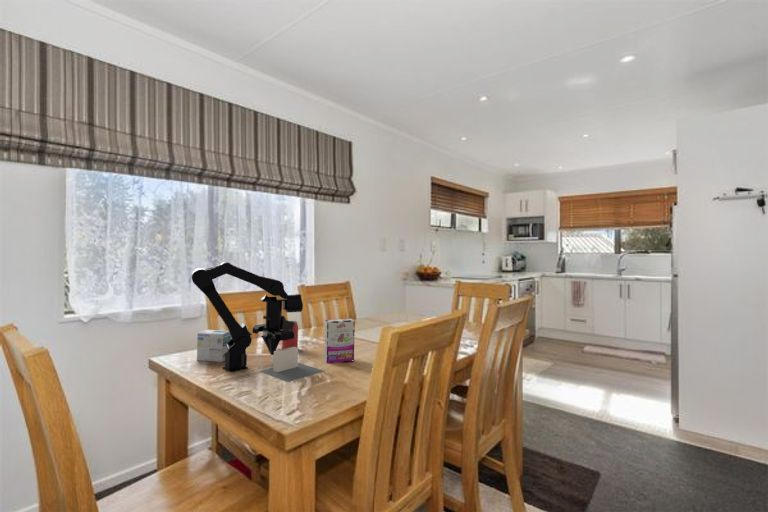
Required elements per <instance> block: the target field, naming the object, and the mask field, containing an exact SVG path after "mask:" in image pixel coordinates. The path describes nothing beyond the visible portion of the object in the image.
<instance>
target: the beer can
mask: <svg viewBox="0 0 768 512" xmlns="http://www.w3.org/2000/svg"><path fill="white" fill-rule="evenodd" d="M290 321H291V322H294V323H295V324H294V327H293V330H292V331H294V332H295V338H294V339H288V340H283V341H281V350H282V349H286V348H291V347H297V348H298V349H299V347H298V346H299V345H298V343H299V342H298V341H299V325H298V322H297V321H296V320H290ZM285 330H286V329H285ZM288 330H290V329H288Z"/></svg>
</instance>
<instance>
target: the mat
mask: <svg viewBox="0 0 768 512" xmlns="http://www.w3.org/2000/svg"><path fill="white" fill-rule="evenodd" d="M259 372H260V373H263V374H265V375H268V376H270V377H273V378H276V379H279V380H280V381H284V382H286V383H290V382H294V381H297V380H299V379H303V378H306V377H310V376H313V375H314V376H315V375H316V374H319V373H323V372H325V370H322V369H319V368H316V367H312V366H310V365H308V364H304V363H301V362H298V367H295V368H291V369H287V370H284V371H280V372H275V371H273V367H271V368H267V369H263V370H260V371H259Z"/></svg>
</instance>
